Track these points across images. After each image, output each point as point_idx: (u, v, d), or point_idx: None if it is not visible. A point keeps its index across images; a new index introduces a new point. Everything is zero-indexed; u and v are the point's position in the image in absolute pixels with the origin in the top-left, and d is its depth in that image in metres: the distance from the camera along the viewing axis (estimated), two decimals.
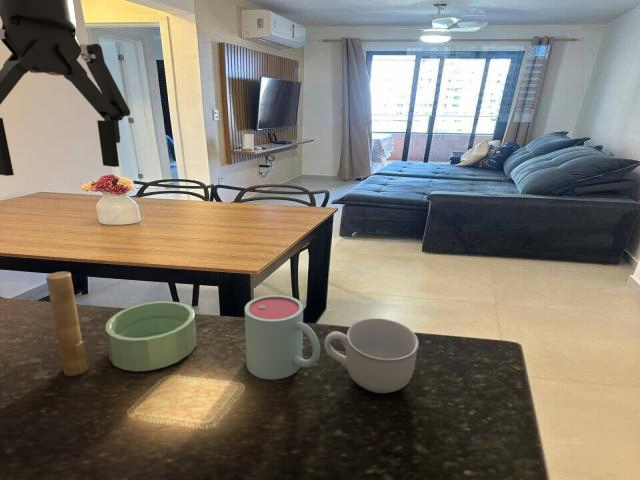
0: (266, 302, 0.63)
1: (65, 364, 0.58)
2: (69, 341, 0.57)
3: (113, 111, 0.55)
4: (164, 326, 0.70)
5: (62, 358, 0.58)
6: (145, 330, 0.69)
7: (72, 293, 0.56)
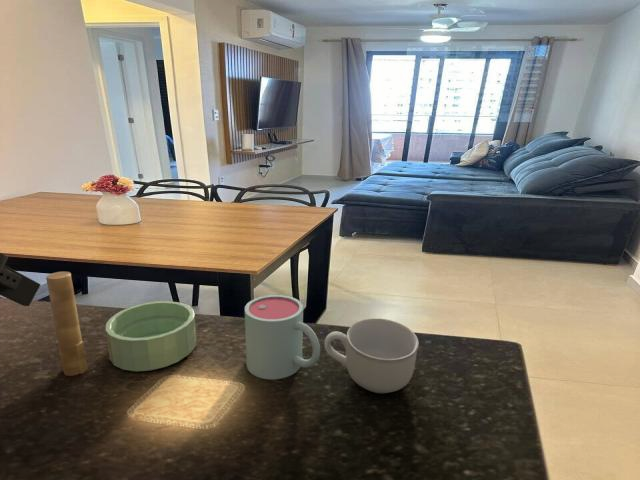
0: (266, 302, 0.63)
1: (65, 364, 0.58)
2: (69, 341, 0.57)
3: None
4: (164, 326, 0.70)
5: (62, 358, 0.58)
6: (145, 330, 0.69)
7: (72, 293, 0.56)
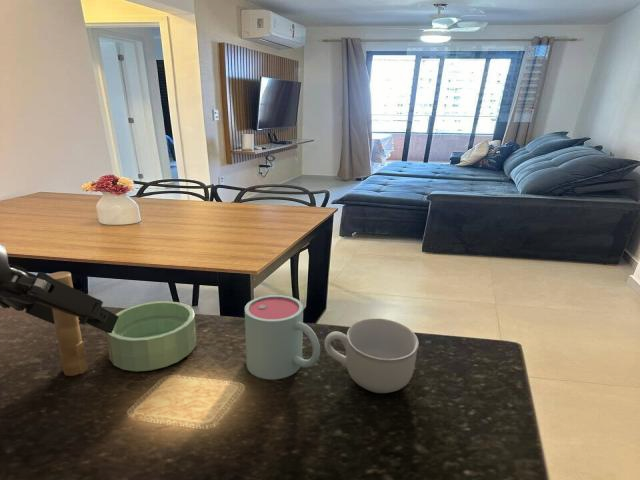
0: (266, 302, 0.63)
1: (65, 364, 0.58)
2: (69, 341, 0.57)
3: (78, 316, 0.52)
4: (164, 326, 0.70)
5: (62, 358, 0.58)
6: (145, 330, 0.69)
7: None
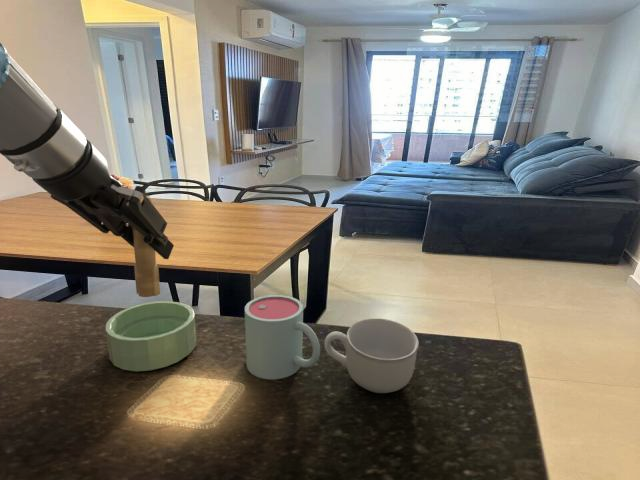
0: (266, 302, 0.63)
1: (141, 285, 0.61)
2: (146, 262, 0.60)
3: (146, 235, 0.56)
4: (164, 326, 0.70)
5: (139, 279, 0.61)
6: (145, 330, 0.69)
7: None
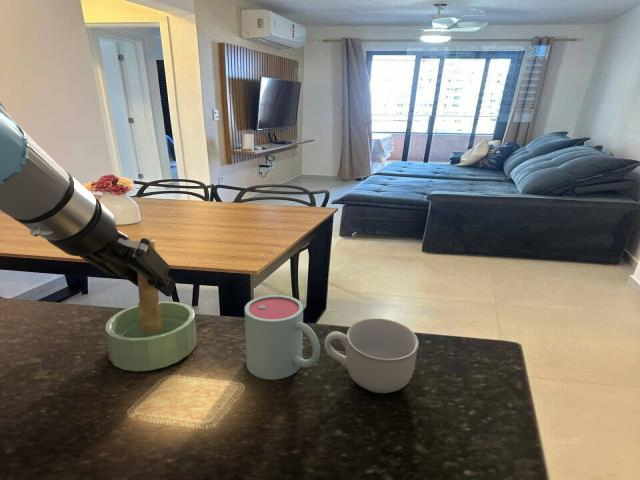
0: (266, 302, 0.63)
1: (145, 323, 0.64)
2: (150, 301, 0.63)
3: (150, 278, 0.60)
4: (164, 326, 0.70)
5: (142, 317, 0.64)
6: None
7: None
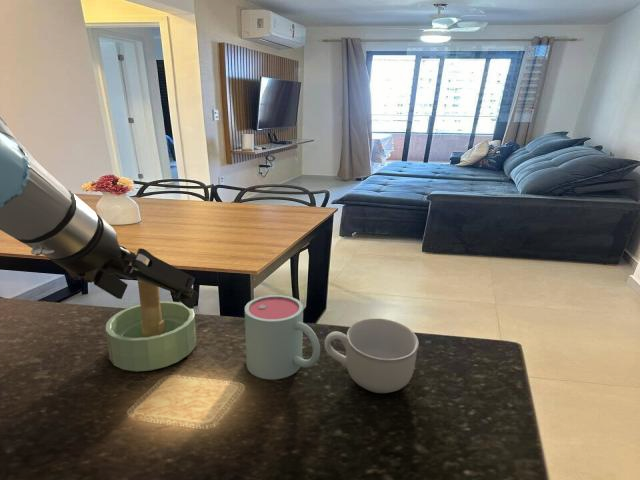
0: (266, 302, 0.63)
1: None
2: (153, 320, 0.63)
3: (172, 290, 0.56)
4: (164, 326, 0.70)
5: (145, 335, 0.63)
6: None
7: None
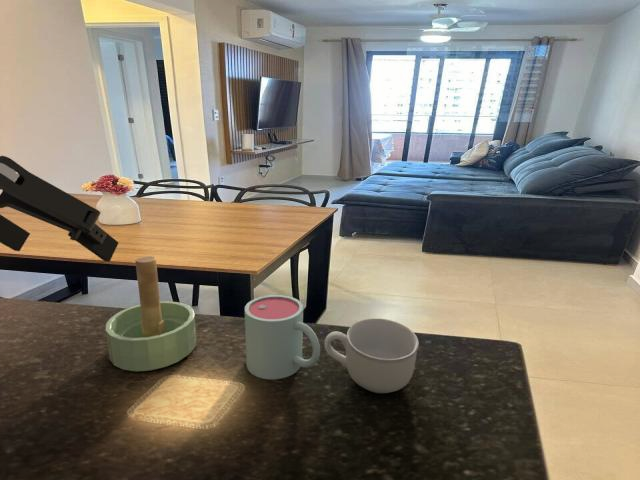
0: (266, 302, 0.63)
1: None
2: (153, 320, 0.63)
3: (67, 228, 0.40)
4: (164, 326, 0.70)
5: (145, 335, 0.63)
6: None
7: (156, 276, 0.62)
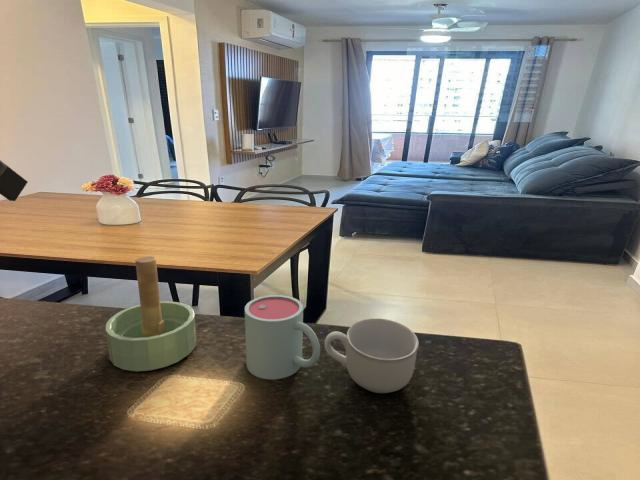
0: (266, 302, 0.63)
1: None
2: (153, 320, 0.63)
3: None
4: (164, 326, 0.70)
5: (145, 335, 0.63)
6: None
7: (156, 276, 0.62)
